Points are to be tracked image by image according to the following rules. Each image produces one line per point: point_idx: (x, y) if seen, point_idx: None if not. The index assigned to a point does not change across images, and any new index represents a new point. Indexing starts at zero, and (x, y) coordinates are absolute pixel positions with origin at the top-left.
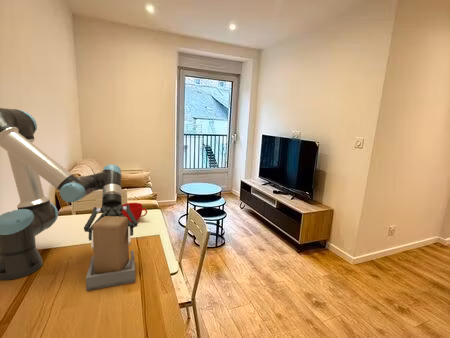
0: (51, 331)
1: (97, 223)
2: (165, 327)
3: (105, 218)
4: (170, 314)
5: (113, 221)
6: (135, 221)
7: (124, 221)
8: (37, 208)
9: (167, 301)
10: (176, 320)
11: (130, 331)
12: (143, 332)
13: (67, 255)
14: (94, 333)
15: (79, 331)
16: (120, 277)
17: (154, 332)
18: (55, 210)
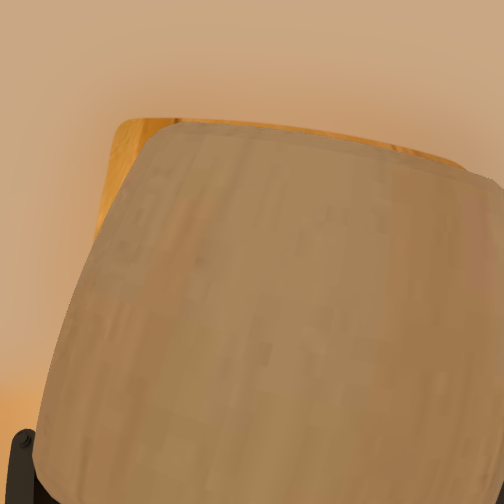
0: (377, 144)
1: (483, 195)
2: (141, 128)
3: (447, 457)
4: (122, 155)
5: (238, 249)
6: (19, 456)
7: (70, 321)
8: None
9: (114, 193)
10: (117, 141)
11: (207, 122)
12: (183, 119)
13: None
14: (281, 125)
15: (316, 133)
16: None
17: (163, 119)
18: None
